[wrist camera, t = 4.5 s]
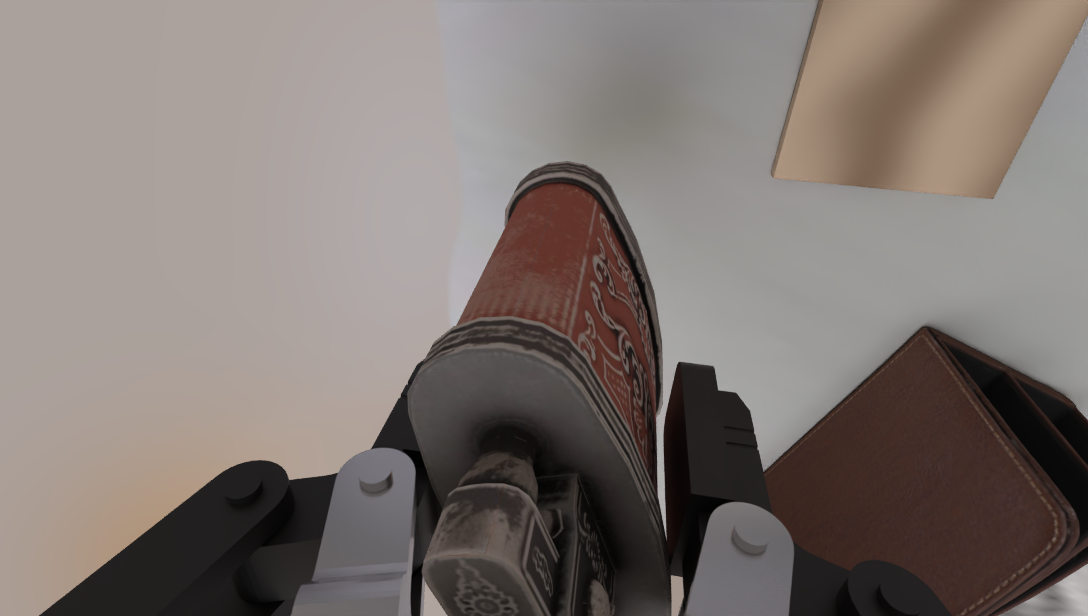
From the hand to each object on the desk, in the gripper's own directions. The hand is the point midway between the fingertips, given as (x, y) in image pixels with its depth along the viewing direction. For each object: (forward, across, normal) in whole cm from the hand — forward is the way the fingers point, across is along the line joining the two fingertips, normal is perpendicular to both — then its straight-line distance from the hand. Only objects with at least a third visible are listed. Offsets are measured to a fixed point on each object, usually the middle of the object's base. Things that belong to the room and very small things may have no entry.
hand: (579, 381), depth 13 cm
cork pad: (+19, -13, -4) cm, 23 cm away
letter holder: (+19, -19, +19) cm, 33 cm away
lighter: (+4, 0, 0) cm, 4 cm away
